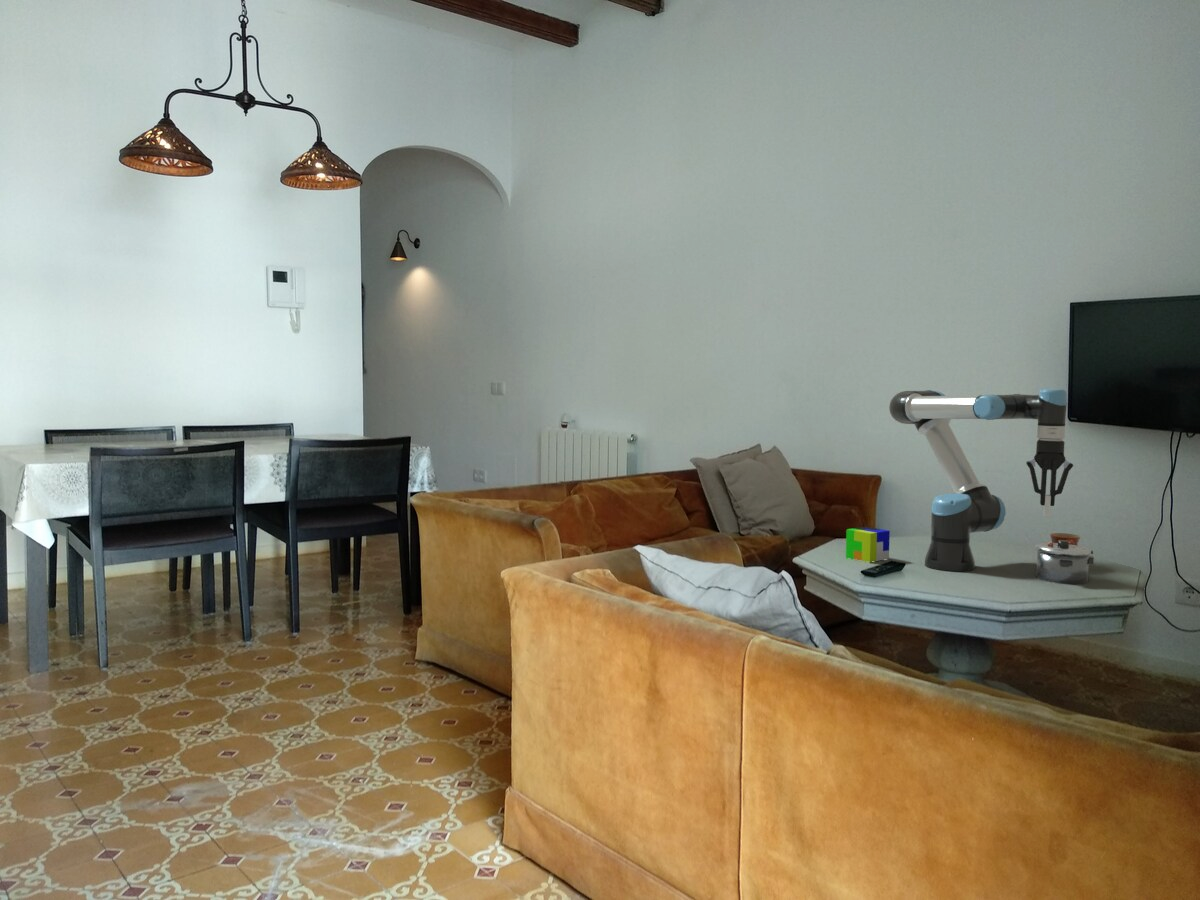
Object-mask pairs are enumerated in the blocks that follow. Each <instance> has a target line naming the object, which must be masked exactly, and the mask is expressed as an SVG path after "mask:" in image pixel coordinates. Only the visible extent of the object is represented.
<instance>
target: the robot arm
mask: <svg viewBox="0 0 1200 900" xmlns="http://www.w3.org/2000/svg"><path fill="white" fill-rule="evenodd" d="M1067 397H1068V394H1067V391H1066V390H1065V389H1063V388H1062V389H1060V388H1041V389H1039V393H1038V394H1036V395H1034V394H1020V393H1013V394H984V395H982V394H981V395H980V394H976V395H975V394H974V395H971V394H970V395H969V394H968V395H945V394H944V393H942V392H940V391H939V390H938V391H937V390H931V389H928V390H903V391H900V392H898V393H896V394H895V395H894V396H893V397H892V398H891V399H890V403H889V413H890V416H891V417H892V418H893V419H894V421H896V422H898V423H900V424H904V425H914V426H915V428H916V430H917V432H918V434H920V435H923V436H925V437H926V440H927V442H928V444H929V446H930V447H931V449H932V451H933V454H934V455H935V457H936V459H937V462H938V463H939V466H940V467H941V469H942V472H943V474H944V475H945V477H946V479H947V481H948V483H949V485H950V487H951V488H952V489H951V490H952V491H953V493H944V494H940V495H937V496H935V497H934V498H933V500H932V506H931V510H930V511H931V529H930V530H931V536H930V543H929V547H928V550H927V551H926V554H925V557H924V566H926V567H927V568H931V569H935V570H940V571H941V570H942V571H951V572H967V571H972V570H974V569H975V563H976V562H975V558H974V556H973V555H974V554H973V552H972V549H971V546H970V545H971V544H970V542H971V541H970V539H971V538H970V537H971V536H970V535H971V533H972V534H973V533H981V532H985V533H986V532H989V531H994V530H996V529H998V528H999V527H1000V526H1002V524H1003V522H1004V521H1005V517H1006V515H1007V514H1006V506H1005V502H1004V501H1003V500H1002V499H1001V498H1000V497H999V496H996V495H994V494H991V492H990V490H989V488H988V487H987V485H984V484H982V483H980V481H979V479H978V477H977V475H976V474H975V472H974V470H973V469H972V466H971V464H970V461H969V459H967V456H966V455H965V452H964V450H963V448H962V447H961V445H960V442H959V441H958V439H957V437H956V435H955V434H954V432H953V430H952V428H951V425H950V422H951V420H987V421H993V420H1015V419H1016V420H1017V419H1018V420H1020V419H1022V420H1023V419H1024V420H1025V419H1026V420H1037V432H1036V433H1037V434H1036V438H1037V441H1036V449H1035V450H1036V452H1035V455H1034V457H1033V458H1032V459H1031V460H1029V461H1028V460H1027V461H1026V462H1025V464H1026V466H1027V467H1028V468H1029V472H1030V476H1031V477H1030V478H1031V482H1032V486H1033V491H1034V492H1035V493H1036V494H1040V495H1039V497H1040V499H1039V504H1040V505H1041V506H1043V517H1044V518H1050V516H1051V507H1054V506H1055V502H1056V501H1055V499H1056V496H1057V495H1061V494H1062V493H1063V490H1064V488H1065V484H1066V482H1067V479H1068V475H1069V472H1070V471H1071V469H1072V468H1073V467H1074V464H1073V463H1072V462H1069V461H1068V460H1066V459H1067V458H1066V457H1065V443H1066V442H1065V441H1064V440H1065V437H1066V420H1067V419H1066V418H1067V417H1066V416H1067V407H1068V402H1067V401H1068V400H1067V399H1068V398H1067ZM1036 464H1037V465H1038V467H1039V468H1040V469H1041V478H1040V479H1041V480H1040V487H1039V484H1038V479H1037V474H1036V469H1035V467H1036ZM1062 465H1063V468H1064V469H1063V471H1062V474H1061V477H1060V479H1059V482H1058V485H1057V484H1056V483H1057V470H1059V468H1060V467H1061V466H1062ZM1048 471H1050V484H1049V485H1050V487H1049V488H1050V489H1049V494H1046V492H1047V479H1048V478H1047V475H1048ZM1056 485H1057V489H1056Z"/></svg>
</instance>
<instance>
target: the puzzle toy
mask: <svg viewBox="0 0 1200 900" xmlns="http://www.w3.org/2000/svg"><path fill="white" fill-rule="evenodd" d="M890 532H891V530H888V529H881V528H876V527H869V526H862V527H861V526H860V527H854V528H847V529H846V531H845V533H846V534H845V537H846V539H845V541H846V542H845V559H848V558H851V559H850V560H853V559H857V560H862V561H868V562H872V561H878V560H884V559H889V560H890ZM857 560H856V561H857ZM862 561H861V562H862ZM884 561H885V560H884Z"/></svg>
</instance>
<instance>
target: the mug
mask: <svg viewBox="0 0 1200 900" xmlns="http://www.w3.org/2000/svg"><path fill="white" fill-rule="evenodd" d="M1049 537H1050V539H1051V542H1052V543H1058V540H1065V541H1069V544H1071V545H1077V546H1079V541H1080V539H1081V536H1080V535H1078V534H1074V533H1066V532H1064V533H1063V532H1053V533H1050V534H1049Z"/></svg>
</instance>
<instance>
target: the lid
mask: <svg viewBox="0 0 1200 900" xmlns="http://www.w3.org/2000/svg"><path fill="white" fill-rule="evenodd" d="M1035 549H1036V550H1037V551H1038V550H1039V551H1042V552H1046V553H1051V554H1058V555H1068V556H1087V555H1089V556H1092V555H1094V551H1093V550H1092V549H1090V548H1088V547H1085V546H1080V545H1071V544H1069V541H1065V540H1058V543H1052V541H1048V542H1039V543H1036V544H1035Z"/></svg>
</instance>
